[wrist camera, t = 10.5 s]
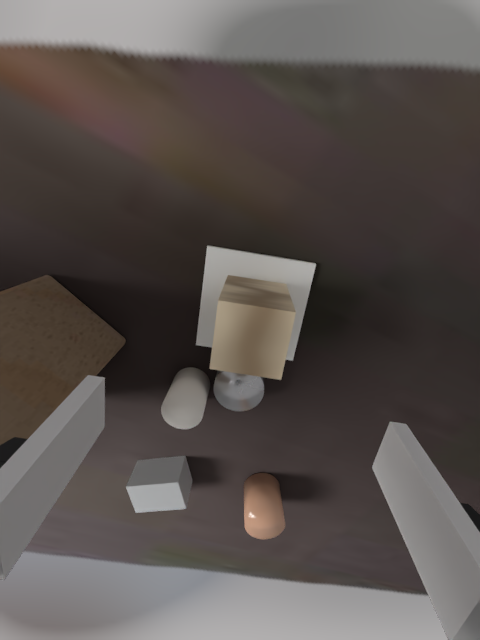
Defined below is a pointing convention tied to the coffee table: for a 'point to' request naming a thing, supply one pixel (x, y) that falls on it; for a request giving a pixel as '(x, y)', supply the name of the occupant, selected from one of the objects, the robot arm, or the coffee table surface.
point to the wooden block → (46, 352)
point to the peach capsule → (263, 506)
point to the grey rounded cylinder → (186, 398)
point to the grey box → (160, 484)
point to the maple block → (252, 327)
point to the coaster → (253, 267)
